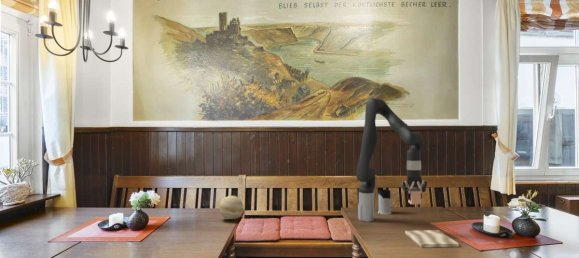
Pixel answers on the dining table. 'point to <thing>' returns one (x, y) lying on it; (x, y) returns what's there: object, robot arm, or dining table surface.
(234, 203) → the decorative ball
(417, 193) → the block
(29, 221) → the dining table surface
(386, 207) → the glass holder
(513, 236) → the dining table surface
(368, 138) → the robot arm
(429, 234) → the board
